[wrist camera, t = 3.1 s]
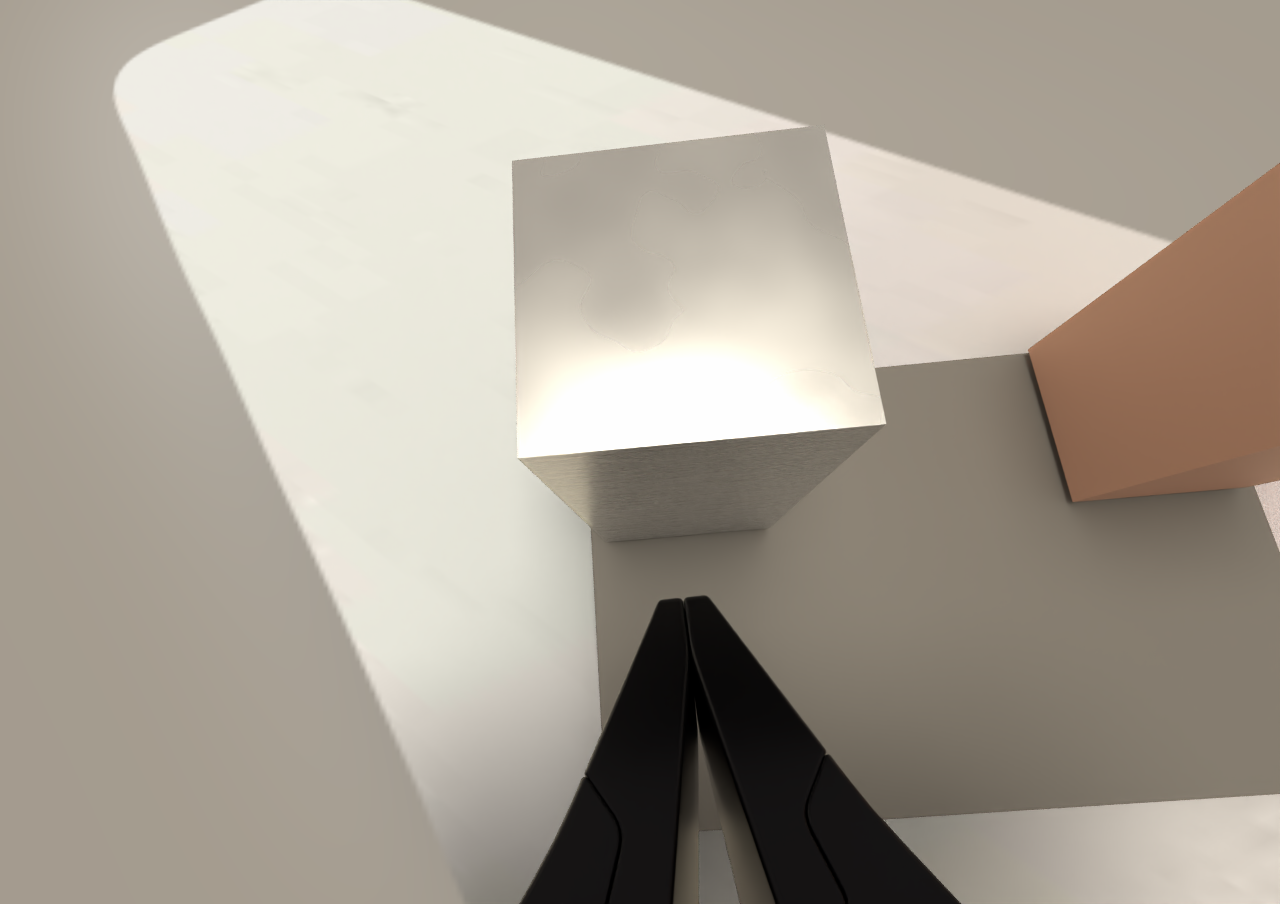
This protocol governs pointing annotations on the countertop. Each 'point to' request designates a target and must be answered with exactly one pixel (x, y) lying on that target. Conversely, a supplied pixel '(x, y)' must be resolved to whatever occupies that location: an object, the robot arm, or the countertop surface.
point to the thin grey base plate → (988, 615)
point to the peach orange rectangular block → (1176, 364)
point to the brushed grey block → (688, 332)
